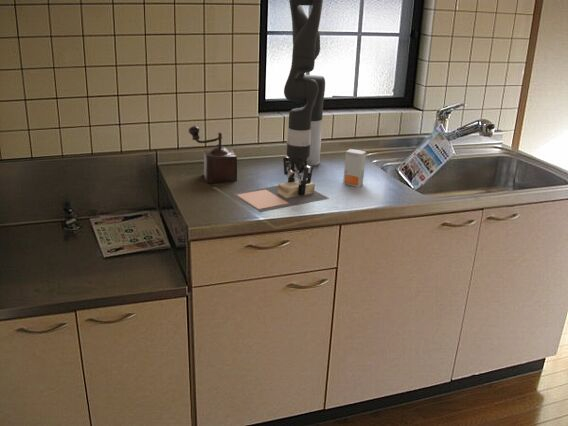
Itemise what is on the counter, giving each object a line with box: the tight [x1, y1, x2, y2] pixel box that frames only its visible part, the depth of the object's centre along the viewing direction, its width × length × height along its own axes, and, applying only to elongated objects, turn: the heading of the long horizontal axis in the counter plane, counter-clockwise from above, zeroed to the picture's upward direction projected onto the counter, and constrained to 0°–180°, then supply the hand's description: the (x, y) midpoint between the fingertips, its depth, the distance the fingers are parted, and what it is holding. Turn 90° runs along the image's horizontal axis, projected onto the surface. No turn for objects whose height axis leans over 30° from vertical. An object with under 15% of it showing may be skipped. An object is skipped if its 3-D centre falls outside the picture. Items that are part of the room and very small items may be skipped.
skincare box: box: [342, 148, 367, 188], centre depth 209 cm, size 6×4×12 cm
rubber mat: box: [232, 185, 330, 213], centre depth 196 cm, size 18×26×1 cm
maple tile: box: [277, 180, 316, 198], centre depth 198 cm, size 11×5×3 cm, turn 123°
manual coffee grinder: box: [188, 125, 238, 185], centre depth 208 cm, size 16×11×18 cm
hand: (296, 191), depth 198 cm, fingers open, 5 cm apart
